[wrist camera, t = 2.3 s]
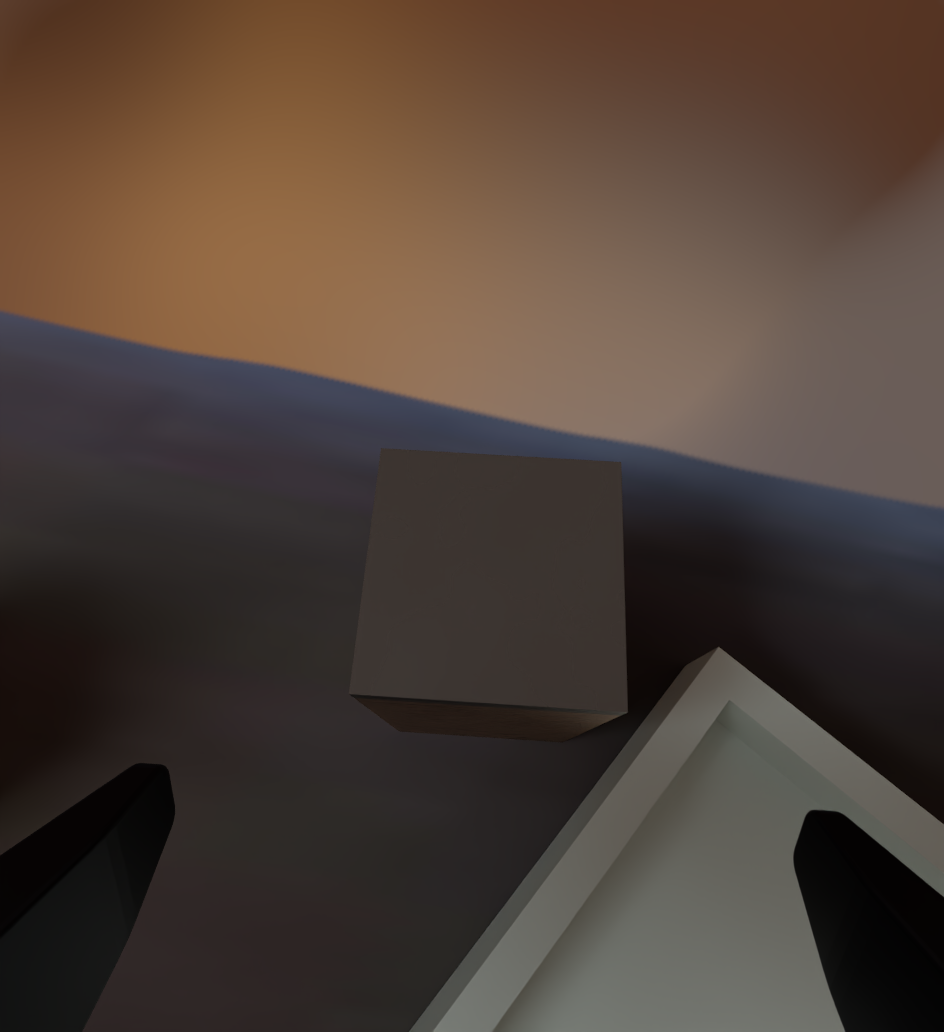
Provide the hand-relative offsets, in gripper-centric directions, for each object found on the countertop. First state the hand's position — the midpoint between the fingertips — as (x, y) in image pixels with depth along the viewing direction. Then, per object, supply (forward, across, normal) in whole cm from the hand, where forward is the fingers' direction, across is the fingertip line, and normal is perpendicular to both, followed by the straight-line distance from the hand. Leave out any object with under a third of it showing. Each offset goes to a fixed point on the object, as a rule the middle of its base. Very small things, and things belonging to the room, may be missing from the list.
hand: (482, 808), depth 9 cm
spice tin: (+11, 0, +5) cm, 12 cm away
